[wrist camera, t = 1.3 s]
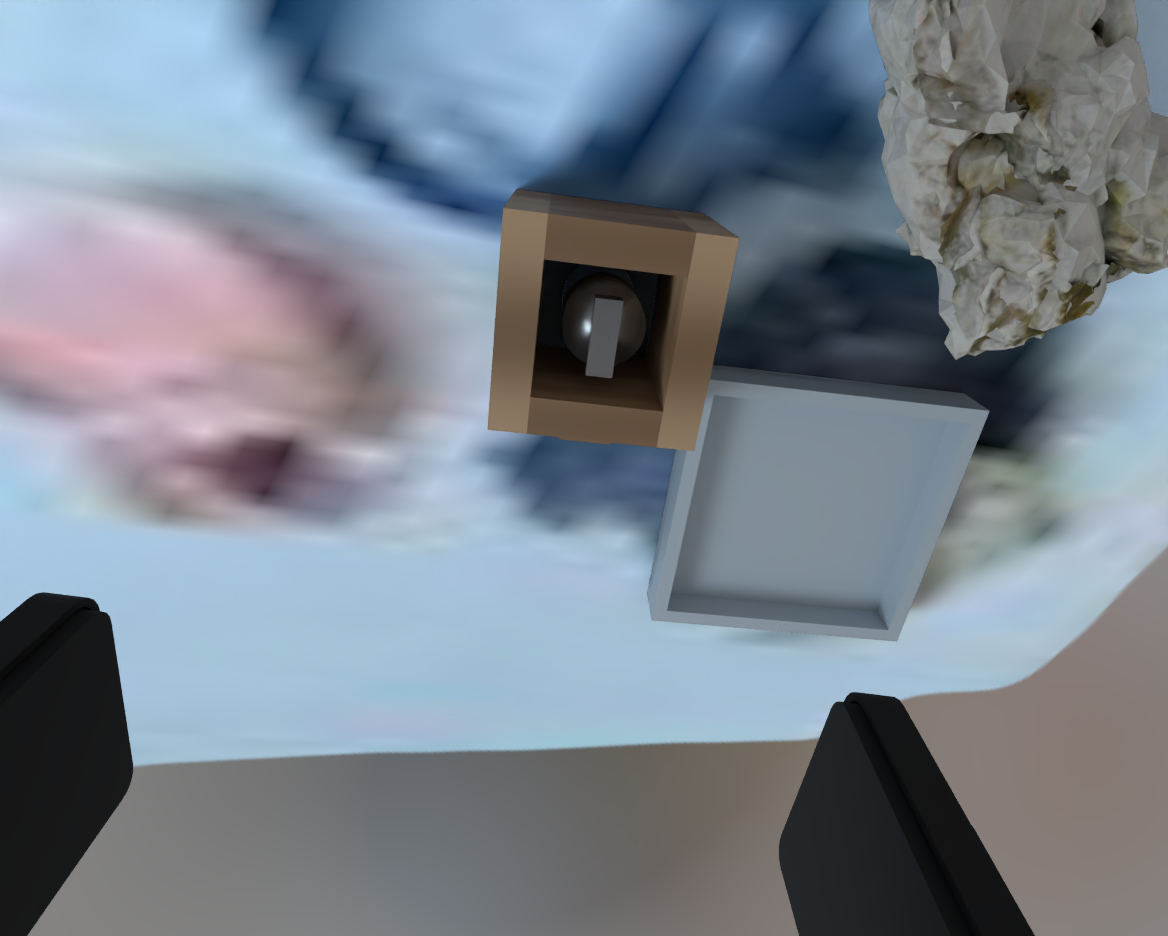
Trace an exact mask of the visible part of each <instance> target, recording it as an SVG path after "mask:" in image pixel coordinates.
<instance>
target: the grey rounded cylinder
mask: <svg viewBox="0 0 1168 936" xmlns="http://www.w3.org/2000/svg"><path fill="white" fill-rule="evenodd" d="M562 332H563V337H564V340H565V343H566V345H567V347H568V348H569V350H570V351H571V352H572V353H573V355H574V356H575V357H577V358H578V359H579V360H581V361H582V362H584V363H586V365H585V375H587V376H596V377H605V378H612V375H613V368H614V366H615V365H618V364H620V363H623V362H625V361H626V360H628V359H629V358H630V357H632V356H633V355H634V354H635V353H636V351H637V350H638V349H639V347H640V346H641V344H642V342H643V339H644V336H645V332H646V318H645V314H644V311H643V308H642V306H641V303H640V301H639V298H638V296H637V293H636V291H635V288H634V286H633V283H632V281H631V279H630V277H629V275H628V274H627V273H626V271H625V270H624V269H618V268H610V267H601V266H593V265H585V264H581V265H579V266H578V267H576V268H575V269H574V270H573V271H572V272H571V273H570V275H569V276H568V278H567V280H566V282H565V285H564V288H563V305H562Z"/></svg>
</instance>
